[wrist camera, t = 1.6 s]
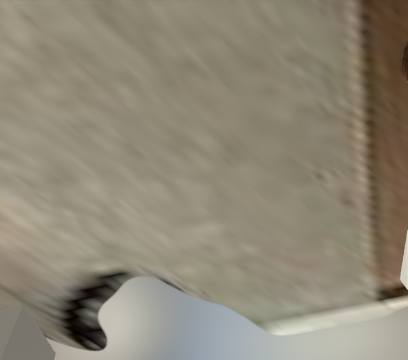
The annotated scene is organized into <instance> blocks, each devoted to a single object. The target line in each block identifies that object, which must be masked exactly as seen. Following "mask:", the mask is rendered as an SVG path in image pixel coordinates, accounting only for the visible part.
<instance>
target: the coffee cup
mask: <svg viewBox="0 0 408 360" xmlns="http://www.w3.org/2000/svg"><path fill="white" fill-rule="evenodd" d="M401 70H402V74H403V77H404V78H405V79H406V81H407V83H408V43H407V45H406V47H405V50H404V52H403V55H402V58H401Z"/></svg>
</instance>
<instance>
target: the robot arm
mask: <svg viewBox="0 0 408 360" xmlns="http://www.w3.org/2000/svg"><path fill="white" fill-rule="evenodd" d="M400 280H401V282H402V283H403V284H404V285H405V287H406V288H407V289H408V231H407V238H406V244H405V251H404V257H403V264H402V270H401V277H400ZM54 357H55V352H54V350H53V349H52V347H51V346H50V344H49V343H48V341H47V339H46V338H45V336H44V335H43V333H42V332H41V330H40V328H39V327H38V325H37V324H36V322H35V321H34V319H33V318H32V316H31V314H30V313H29V311H28V310H27V308H26V307H25V305H24V304H20V305H16V306H11V307H6V308H2V309H0V360H54Z"/></svg>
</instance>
